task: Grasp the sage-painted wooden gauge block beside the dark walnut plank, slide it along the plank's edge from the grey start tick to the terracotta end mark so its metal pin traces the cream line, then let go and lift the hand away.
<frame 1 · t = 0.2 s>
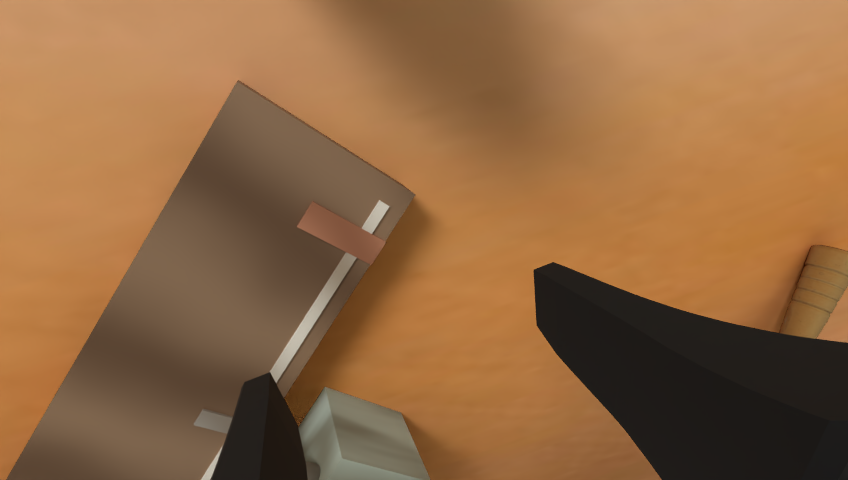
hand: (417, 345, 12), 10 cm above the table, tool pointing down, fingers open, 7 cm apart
walnut plank: (189, 362, 21), on the table
kendama: (746, 342, 36), on the table
gauge block: (345, 428, 25), on the table
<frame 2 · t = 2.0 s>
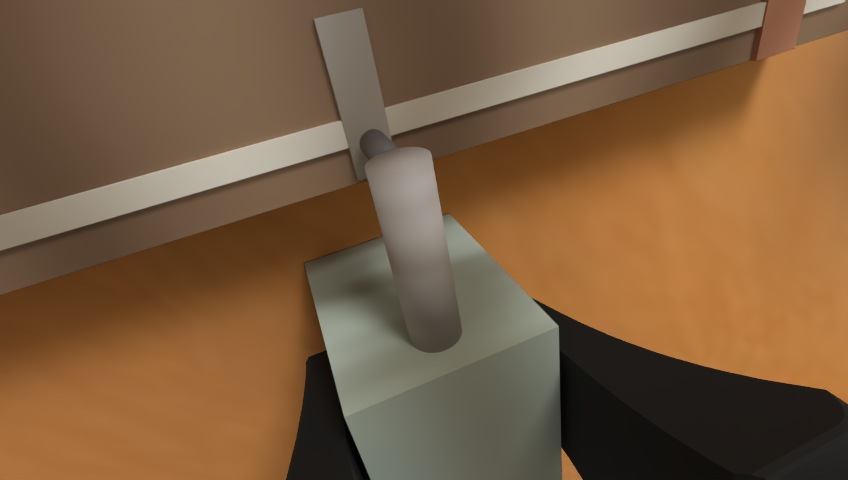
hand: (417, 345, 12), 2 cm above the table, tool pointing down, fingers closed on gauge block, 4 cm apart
gauge block: (398, 309, 13), on the table, touching gripper
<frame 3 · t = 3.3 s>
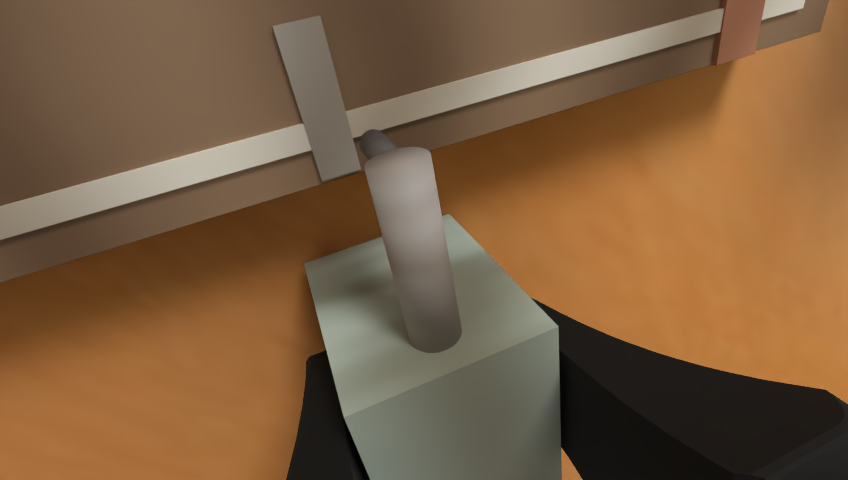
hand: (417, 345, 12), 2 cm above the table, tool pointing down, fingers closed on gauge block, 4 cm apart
gauge block: (398, 309, 13), on the table, touching gripper
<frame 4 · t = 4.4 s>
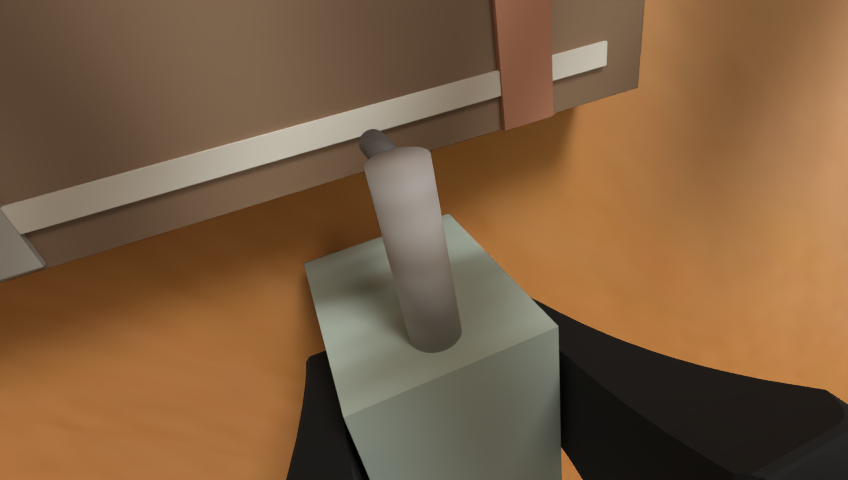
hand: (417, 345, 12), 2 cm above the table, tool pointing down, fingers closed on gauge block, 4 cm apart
gauge block: (398, 309, 13), point 1 cm above the table, touching gripper
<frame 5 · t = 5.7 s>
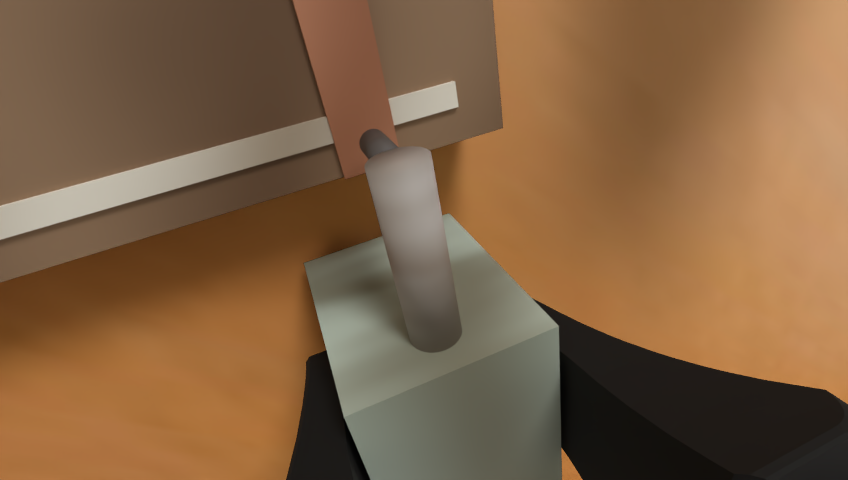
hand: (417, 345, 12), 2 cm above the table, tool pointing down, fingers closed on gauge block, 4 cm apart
gauge block: (398, 309, 13), on the table, touching gripper
when the fingers open (2 cm above the table, at t = 6.5 s): gauge block stays where it is, on the table.
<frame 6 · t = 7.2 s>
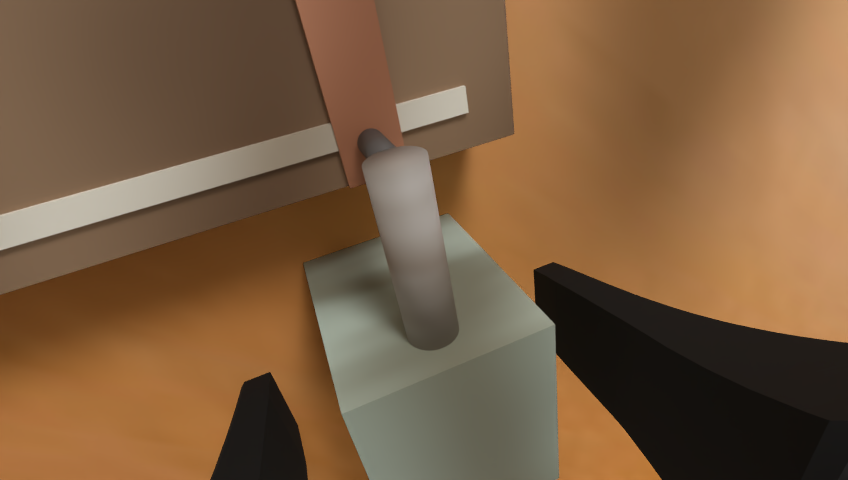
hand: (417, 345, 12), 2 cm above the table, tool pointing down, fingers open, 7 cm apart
gauge block: (397, 308, 13), on the table
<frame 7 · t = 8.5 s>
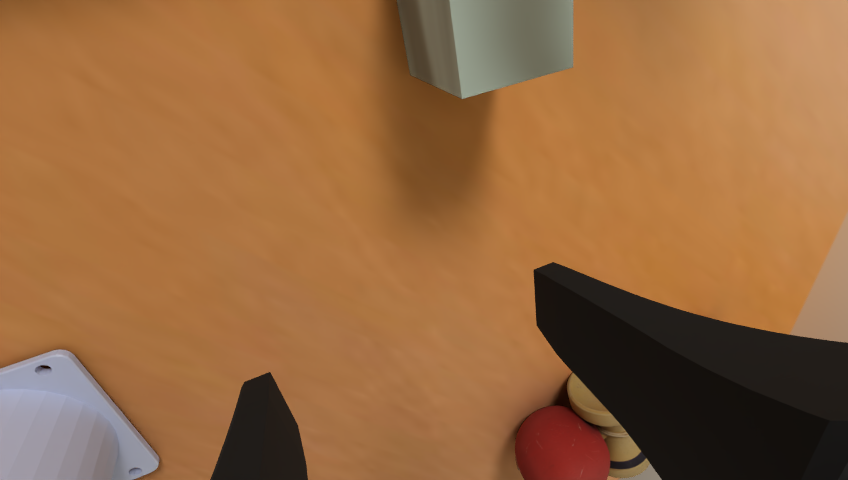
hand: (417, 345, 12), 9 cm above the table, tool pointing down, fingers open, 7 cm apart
kendama: (605, 375, 33), on the table
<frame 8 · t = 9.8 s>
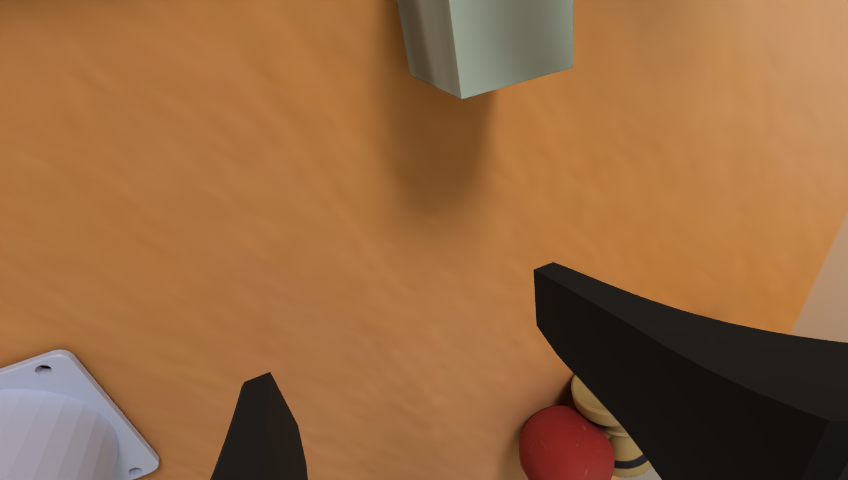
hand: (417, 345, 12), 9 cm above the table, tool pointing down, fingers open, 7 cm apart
kendama: (608, 375, 33), on the table
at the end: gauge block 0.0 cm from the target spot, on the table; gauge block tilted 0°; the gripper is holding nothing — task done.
